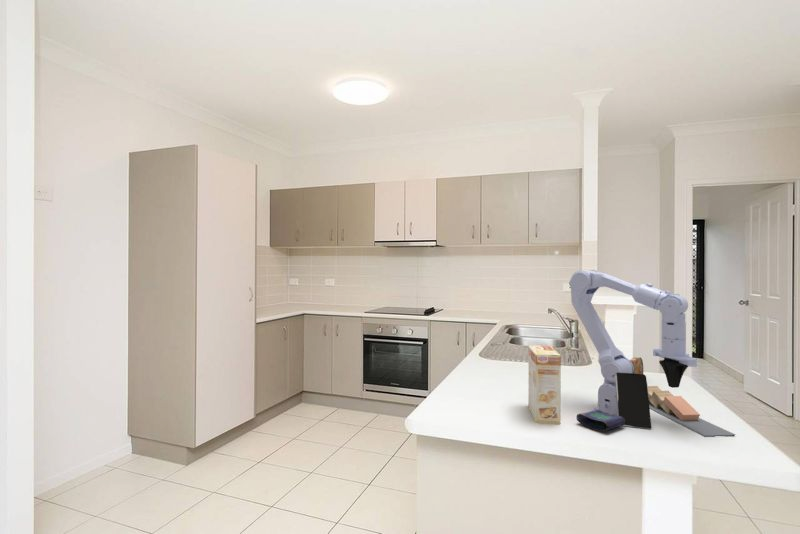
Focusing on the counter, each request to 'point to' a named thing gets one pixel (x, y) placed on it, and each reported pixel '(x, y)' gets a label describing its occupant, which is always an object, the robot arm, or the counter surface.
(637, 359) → the tin
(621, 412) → the smartphone
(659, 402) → the domino
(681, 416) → the domino
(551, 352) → the coffeecake box
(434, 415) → the counter surface
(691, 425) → the mat
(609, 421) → the navy pouch
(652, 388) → the domino
